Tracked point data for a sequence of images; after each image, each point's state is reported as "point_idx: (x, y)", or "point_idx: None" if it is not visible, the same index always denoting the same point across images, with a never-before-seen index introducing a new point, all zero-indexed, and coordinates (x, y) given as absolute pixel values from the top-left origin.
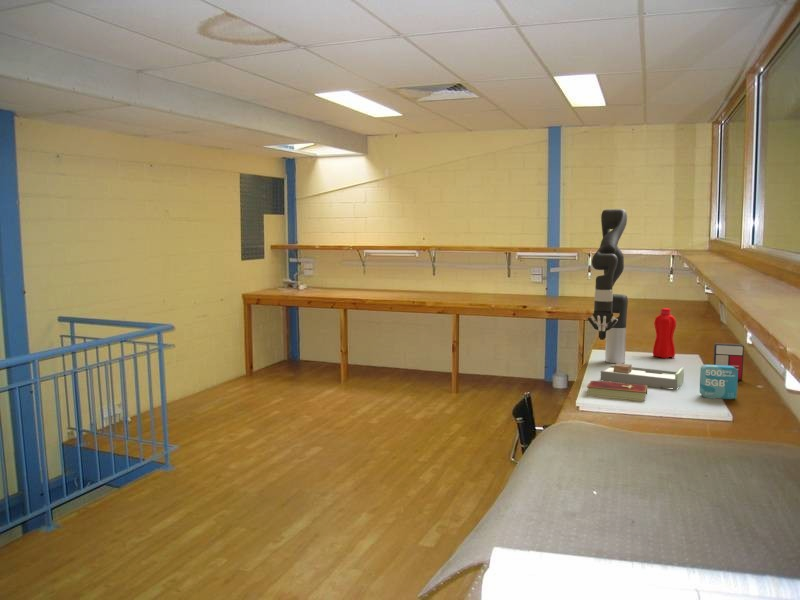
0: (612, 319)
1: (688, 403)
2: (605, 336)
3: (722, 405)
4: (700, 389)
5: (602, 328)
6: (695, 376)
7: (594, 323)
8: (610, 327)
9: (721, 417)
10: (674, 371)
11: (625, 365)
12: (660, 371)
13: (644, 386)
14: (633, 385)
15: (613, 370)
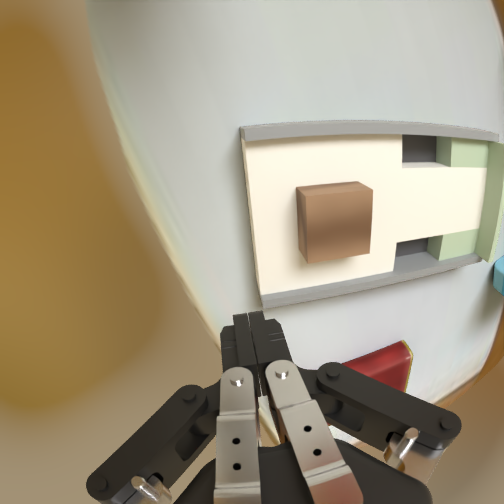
0: (402, 468)
1: (460, 341)
2: (279, 335)
3: (499, 311)
4: (499, 279)
5: (254, 388)
6: (481, 32)
7: (183, 463)
8: (355, 414)
9: (476, 368)
10: (482, 135)
11: (353, 229)
12: (447, 135)
13: (406, 365)
14: (384, 375)
15: (285, 210)
